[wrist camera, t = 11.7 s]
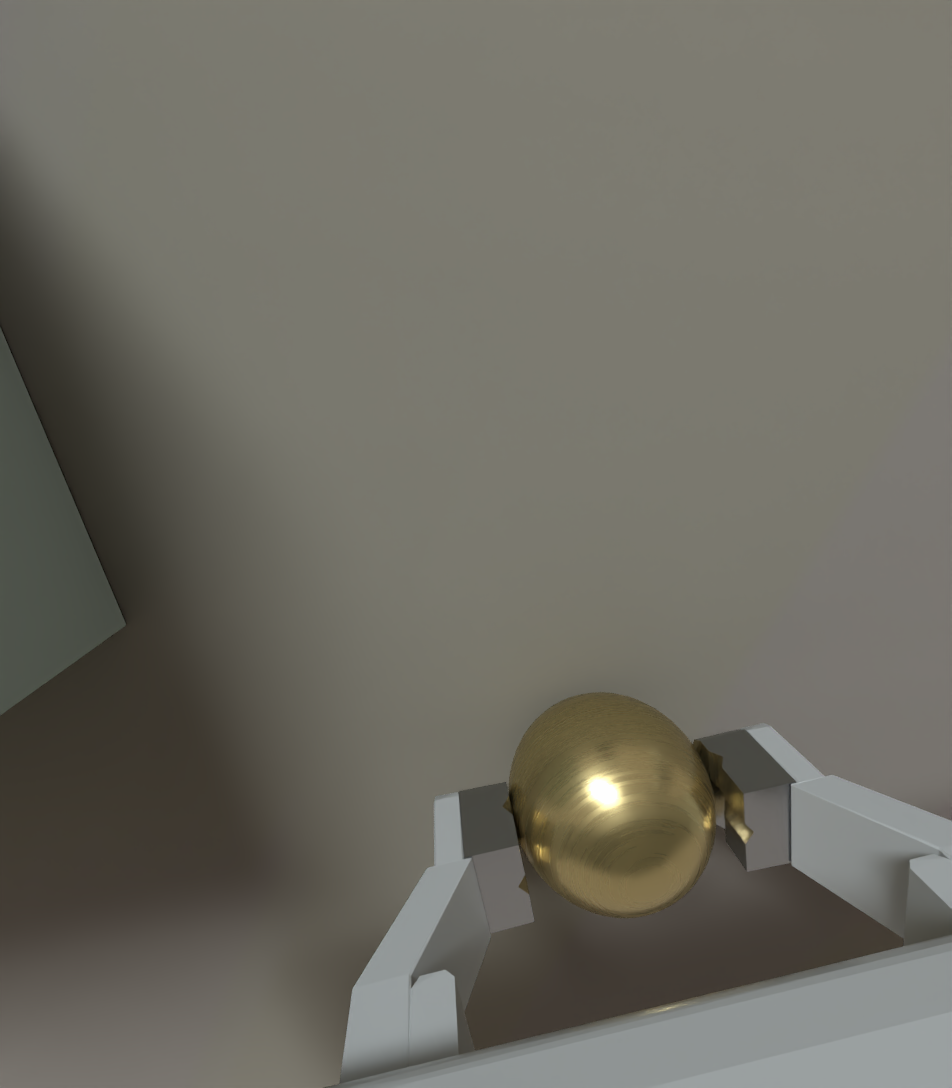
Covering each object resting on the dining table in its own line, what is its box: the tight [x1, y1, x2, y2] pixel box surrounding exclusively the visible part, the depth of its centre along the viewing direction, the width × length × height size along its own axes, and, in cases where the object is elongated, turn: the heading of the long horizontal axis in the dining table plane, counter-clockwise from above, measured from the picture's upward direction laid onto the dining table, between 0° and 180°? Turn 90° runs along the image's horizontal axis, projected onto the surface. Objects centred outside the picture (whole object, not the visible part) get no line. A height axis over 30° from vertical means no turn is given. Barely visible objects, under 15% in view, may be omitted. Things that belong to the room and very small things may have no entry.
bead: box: [509, 692, 716, 918], centre depth 10 cm, size 4×4×4 cm
